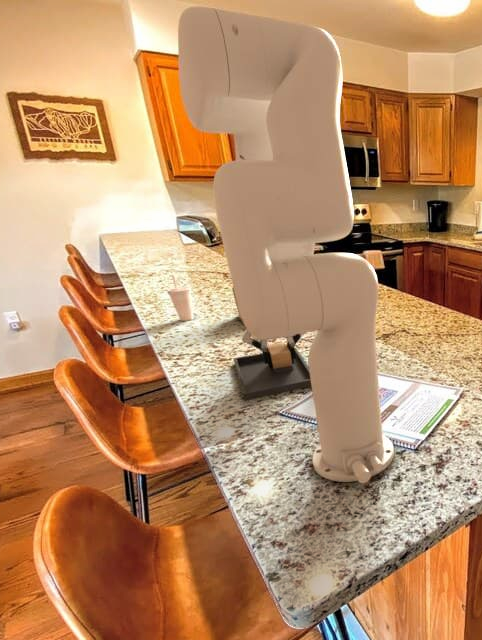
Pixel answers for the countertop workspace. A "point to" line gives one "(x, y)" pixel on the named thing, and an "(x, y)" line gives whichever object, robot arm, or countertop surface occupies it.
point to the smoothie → (182, 301)
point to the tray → (270, 376)
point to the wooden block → (280, 357)
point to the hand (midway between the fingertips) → (280, 363)
